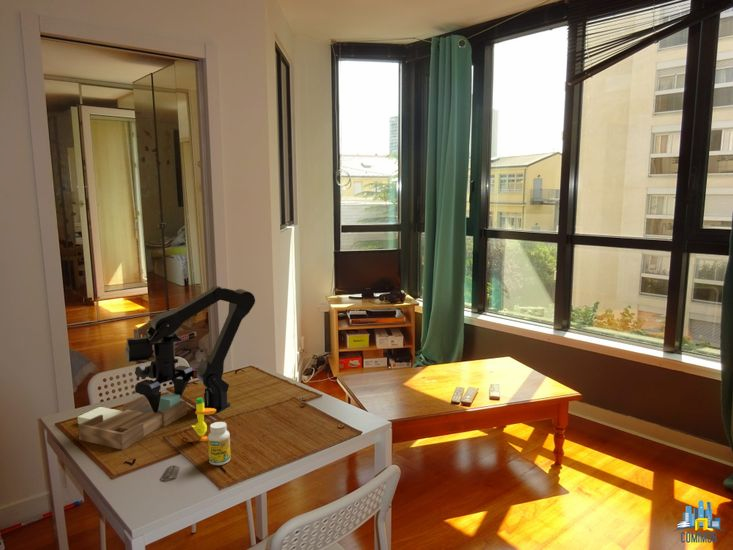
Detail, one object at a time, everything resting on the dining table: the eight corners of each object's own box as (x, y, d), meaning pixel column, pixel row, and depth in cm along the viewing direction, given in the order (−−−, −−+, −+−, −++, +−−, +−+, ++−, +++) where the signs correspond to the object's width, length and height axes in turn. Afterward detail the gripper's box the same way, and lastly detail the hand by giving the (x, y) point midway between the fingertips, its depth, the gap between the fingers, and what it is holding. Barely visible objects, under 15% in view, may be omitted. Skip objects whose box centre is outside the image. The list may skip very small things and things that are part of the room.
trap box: (186, 414, 160) (186, 400, 160) (122, 449, 137) (121, 434, 137) (147, 406, 166) (146, 393, 165) (79, 439, 143) (78, 424, 142)
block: (180, 407, 159) (180, 394, 159) (170, 412, 155) (169, 400, 154) (168, 405, 161) (168, 392, 160) (158, 410, 157) (157, 397, 156)
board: (125, 418, 157) (125, 411, 156) (103, 429, 149) (103, 422, 149) (100, 413, 160) (100, 406, 160) (78, 423, 153) (77, 416, 153)
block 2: (179, 472, 129) (180, 465, 128) (175, 483, 123) (175, 476, 123) (164, 471, 128) (165, 464, 128) (159, 483, 122) (159, 475, 122)
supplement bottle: (230, 454, 135) (229, 419, 134) (230, 464, 130) (229, 428, 129) (209, 456, 134) (208, 421, 133) (207, 467, 129) (206, 430, 127)
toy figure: (217, 436, 146) (216, 395, 144) (216, 442, 142) (214, 400, 140) (192, 437, 145) (191, 396, 143) (190, 443, 141) (188, 401, 139)
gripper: (165, 346, 166) (167, 392, 168) (118, 362, 149) (121, 414, 151) (194, 349, 162) (195, 397, 164) (149, 367, 145) (151, 420, 147)
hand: (166, 406), depth 157 cm, fingers open, 9 cm apart
